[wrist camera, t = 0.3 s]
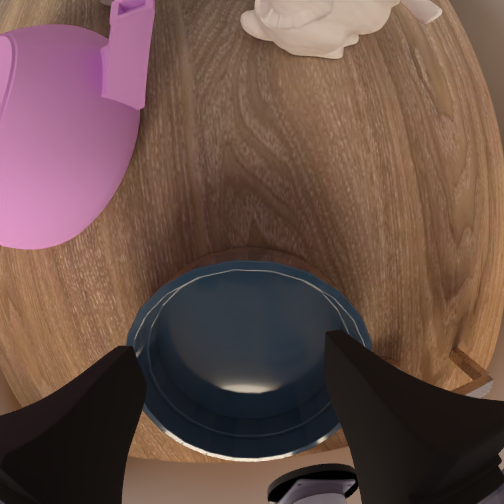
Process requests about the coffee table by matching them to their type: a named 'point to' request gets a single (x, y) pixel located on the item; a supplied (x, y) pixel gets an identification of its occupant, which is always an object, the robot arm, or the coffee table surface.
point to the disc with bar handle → (471, 368)
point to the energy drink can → (106, 2)
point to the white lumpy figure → (325, 22)
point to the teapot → (68, 122)
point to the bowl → (242, 354)
